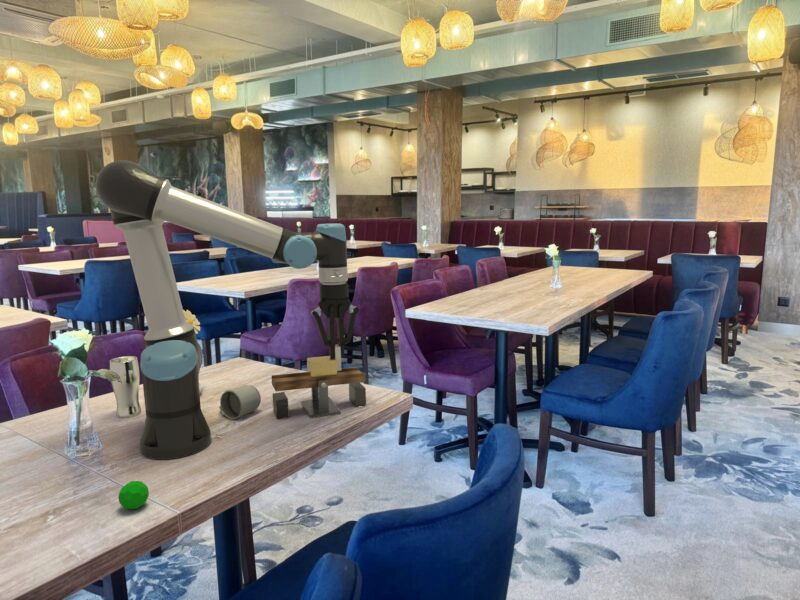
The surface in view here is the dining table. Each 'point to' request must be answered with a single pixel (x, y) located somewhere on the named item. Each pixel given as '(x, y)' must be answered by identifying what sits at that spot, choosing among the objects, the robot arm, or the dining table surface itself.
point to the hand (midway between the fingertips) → (337, 369)
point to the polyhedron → (133, 495)
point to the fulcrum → (319, 401)
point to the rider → (321, 367)
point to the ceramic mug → (239, 401)
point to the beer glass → (126, 386)
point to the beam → (316, 379)
